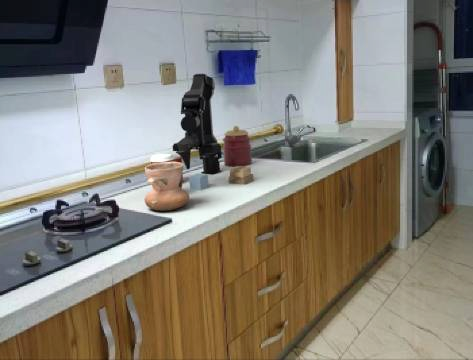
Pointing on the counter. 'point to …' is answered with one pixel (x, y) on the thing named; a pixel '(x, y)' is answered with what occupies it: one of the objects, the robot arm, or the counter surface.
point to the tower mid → (240, 171)
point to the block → (198, 181)
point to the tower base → (241, 180)
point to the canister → (237, 148)
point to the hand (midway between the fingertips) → (198, 170)
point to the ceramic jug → (165, 186)
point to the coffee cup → (161, 158)
